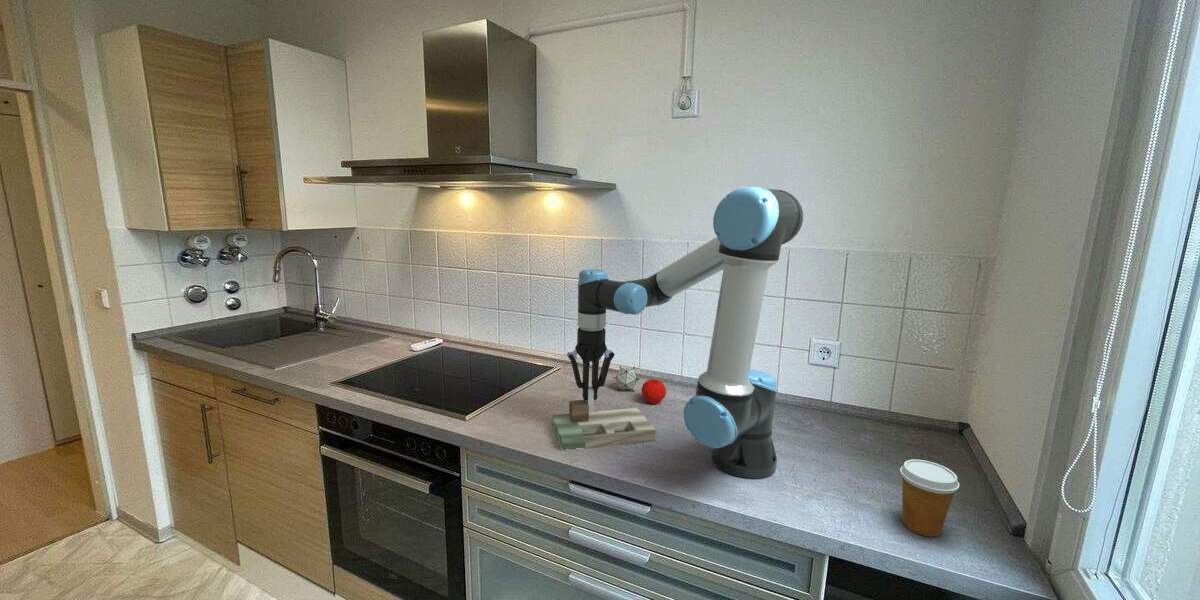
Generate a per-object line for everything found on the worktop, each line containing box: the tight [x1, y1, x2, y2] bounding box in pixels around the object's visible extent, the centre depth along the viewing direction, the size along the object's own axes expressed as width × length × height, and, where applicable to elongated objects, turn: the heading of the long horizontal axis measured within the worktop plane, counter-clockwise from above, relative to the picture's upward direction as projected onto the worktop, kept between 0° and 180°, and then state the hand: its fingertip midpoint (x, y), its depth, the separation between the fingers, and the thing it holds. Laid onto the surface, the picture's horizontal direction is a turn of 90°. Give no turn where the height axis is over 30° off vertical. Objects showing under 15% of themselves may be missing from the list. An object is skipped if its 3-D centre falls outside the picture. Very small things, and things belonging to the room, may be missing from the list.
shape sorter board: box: [551, 407, 657, 451], centre depth 132 cm, size 15×25×3 cm, turn 105°
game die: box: [613, 365, 640, 393], centre depth 164 cm, size 9×8×10 cm
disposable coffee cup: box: [899, 459, 960, 538], centre depth 95 cm, size 10×10×12 cm
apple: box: [641, 378, 667, 405], centre depth 154 cm, size 8×8×7 cm
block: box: [568, 399, 589, 423], centre depth 133 cm, size 4×4×4 cm
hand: (589, 410), depth 134 cm, fingers closed
